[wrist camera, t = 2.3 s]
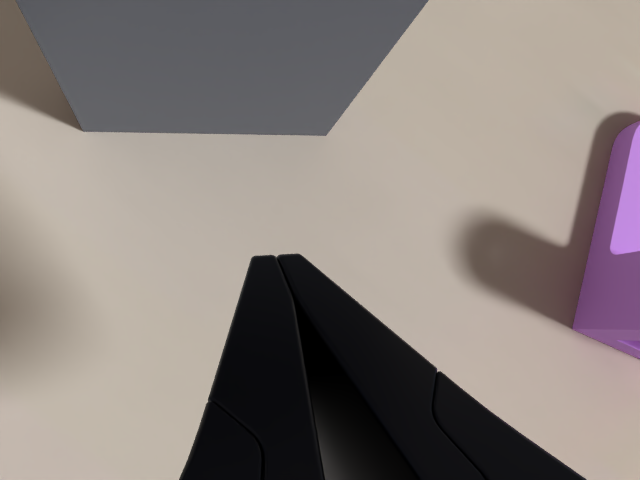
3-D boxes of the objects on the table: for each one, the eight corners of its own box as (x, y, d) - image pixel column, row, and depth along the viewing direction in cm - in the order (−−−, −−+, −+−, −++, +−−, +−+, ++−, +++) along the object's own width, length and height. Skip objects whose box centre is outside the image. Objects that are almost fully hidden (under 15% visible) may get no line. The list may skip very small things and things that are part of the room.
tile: (325, 135, 22) (543, -152, 9) (83, 131, 19) (-138, -299, 6) (321, 87, 22) (524, -260, 9) (82, 76, 20) (-130, -446, 6)
